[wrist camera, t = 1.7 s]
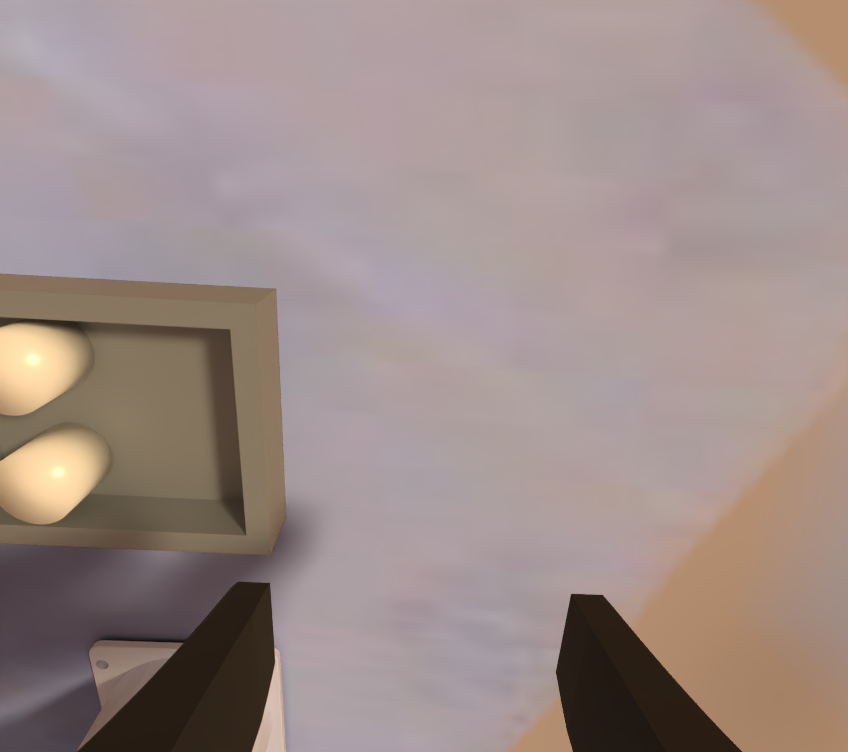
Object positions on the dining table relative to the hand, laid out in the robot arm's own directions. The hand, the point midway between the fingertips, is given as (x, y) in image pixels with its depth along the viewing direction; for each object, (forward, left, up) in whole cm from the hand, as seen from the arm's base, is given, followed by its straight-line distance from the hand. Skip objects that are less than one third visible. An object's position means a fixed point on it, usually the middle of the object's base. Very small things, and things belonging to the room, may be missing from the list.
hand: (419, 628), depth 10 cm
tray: (0, +11, -10) cm, 14 cm away
